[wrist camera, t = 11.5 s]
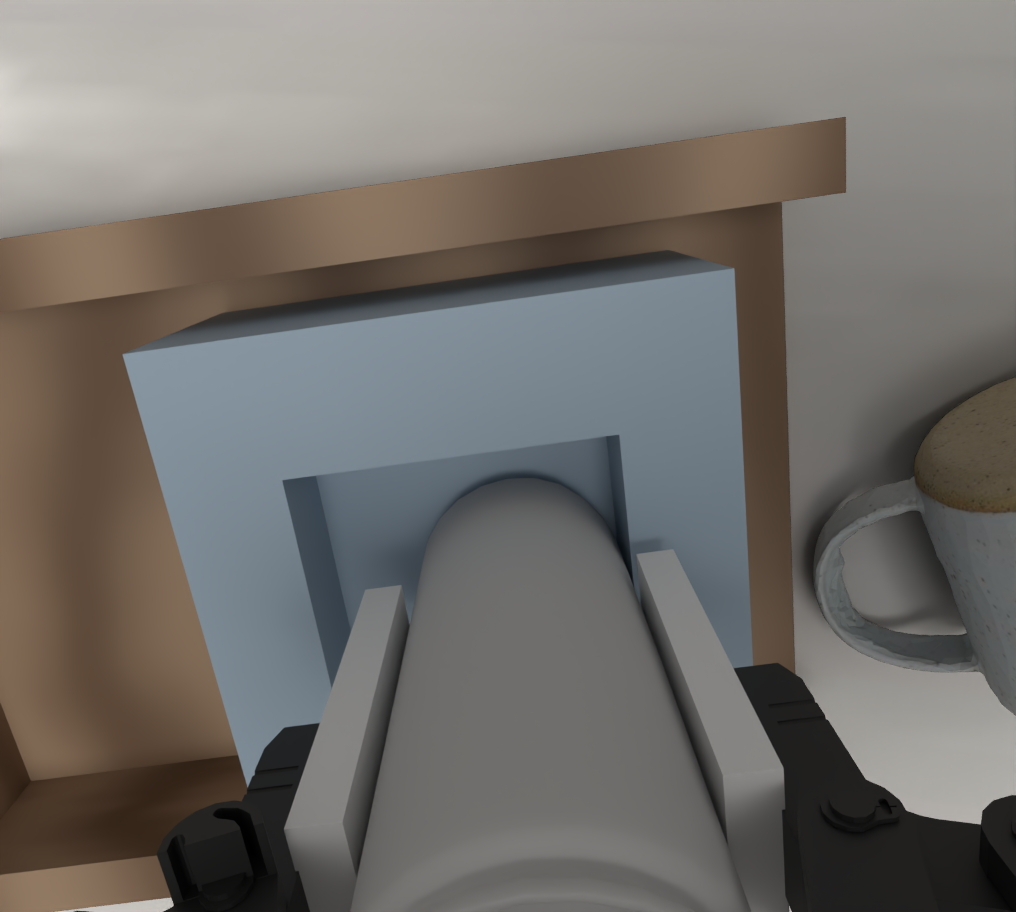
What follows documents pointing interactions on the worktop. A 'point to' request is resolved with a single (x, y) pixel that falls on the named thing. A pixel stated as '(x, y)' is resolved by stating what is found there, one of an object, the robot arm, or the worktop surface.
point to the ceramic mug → (946, 544)
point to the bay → (137, 492)
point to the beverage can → (537, 731)
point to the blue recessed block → (437, 449)
